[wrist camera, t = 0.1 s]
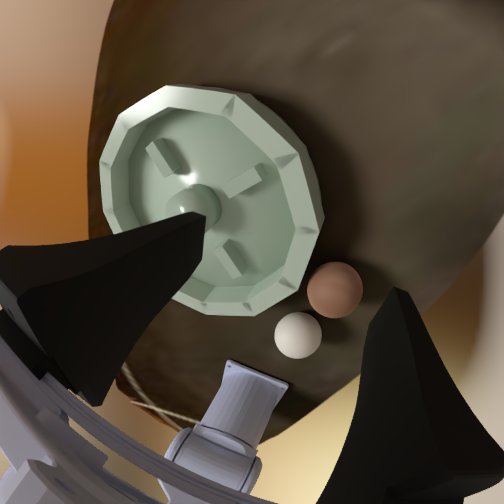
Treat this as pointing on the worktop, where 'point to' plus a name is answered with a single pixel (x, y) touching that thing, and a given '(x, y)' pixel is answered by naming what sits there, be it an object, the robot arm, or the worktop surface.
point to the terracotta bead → (335, 289)
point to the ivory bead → (298, 335)
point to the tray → (218, 191)
